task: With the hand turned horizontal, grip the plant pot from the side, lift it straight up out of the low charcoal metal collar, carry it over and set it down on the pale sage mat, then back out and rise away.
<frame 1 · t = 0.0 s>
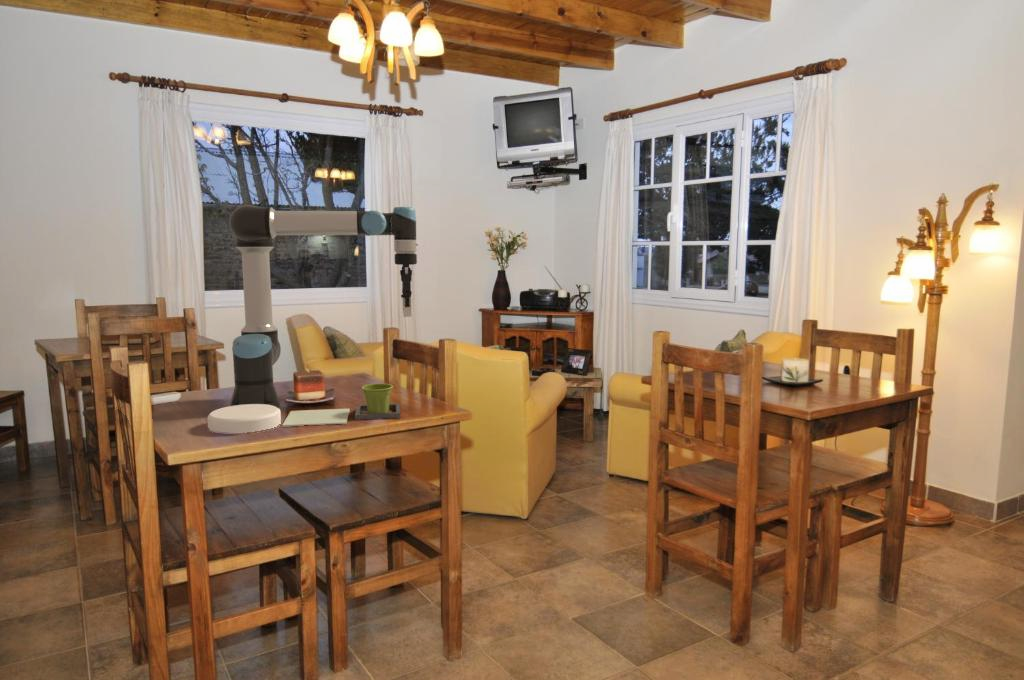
hand: (407, 314, 247), 28 cm above the table, tool pointing down, fingers open, 13 cm apart
sage mat: (317, 418, 217), on the table
plant pot: (378, 414, 222), resting in pot collar
container: (245, 427, 209), on the table
pot collar: (378, 413, 222), on the table
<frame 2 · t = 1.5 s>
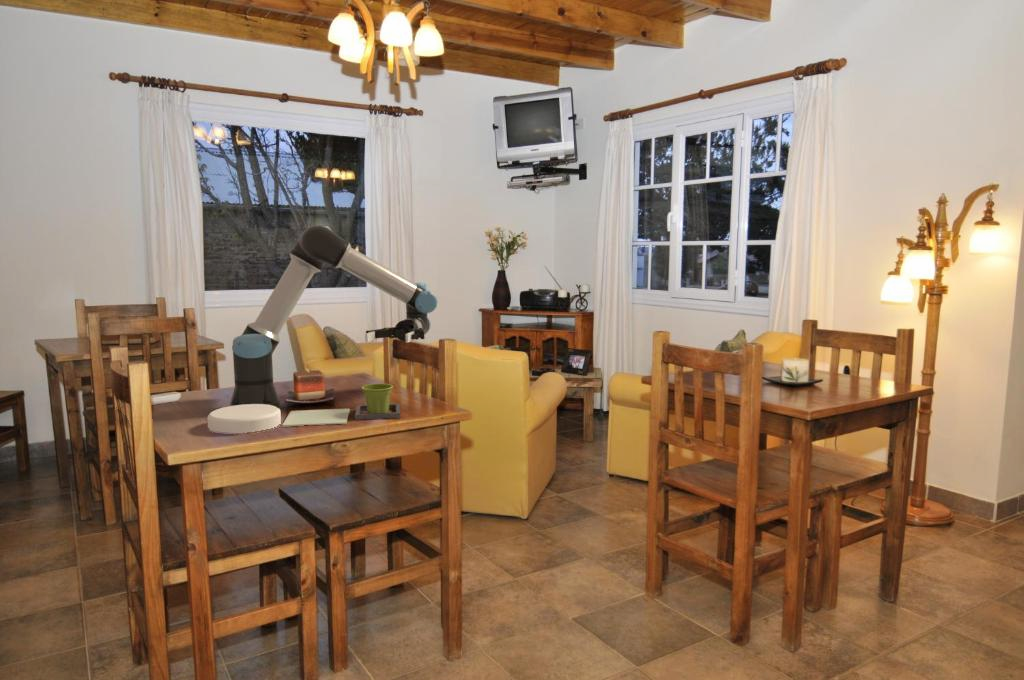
hand: (386, 338, 228), 22 cm above the table, tool horizontal, fingers open, 13 cm apart
nothing on the table moved.
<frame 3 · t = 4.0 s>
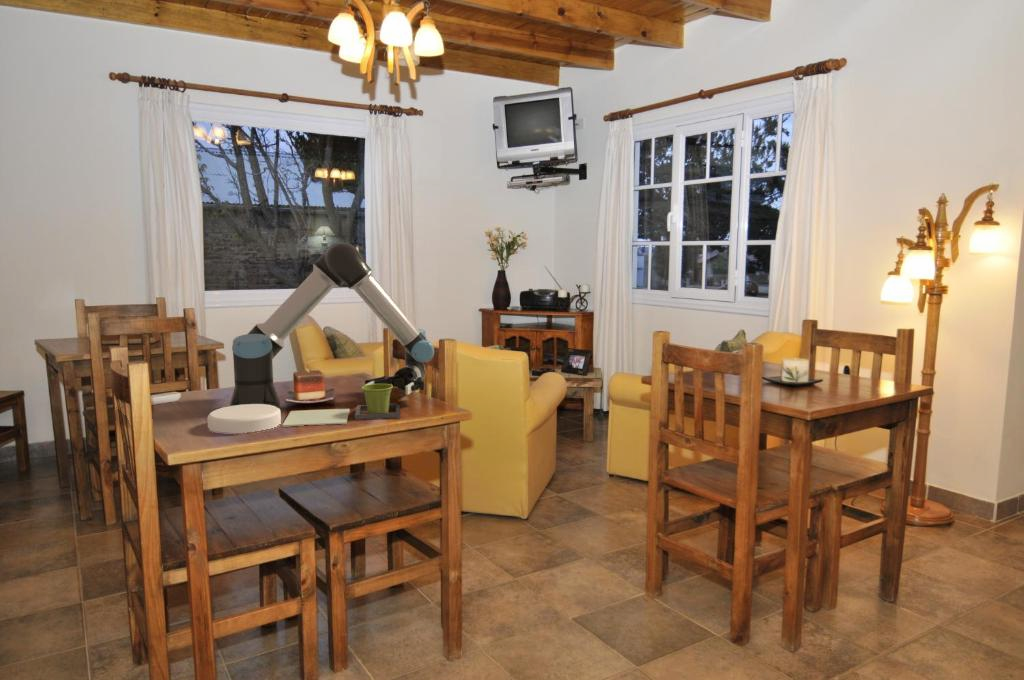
hand: (386, 389, 227), 6 cm above the table, tool horizontal, fingers open, 13 cm apart
nothing on the table moved.
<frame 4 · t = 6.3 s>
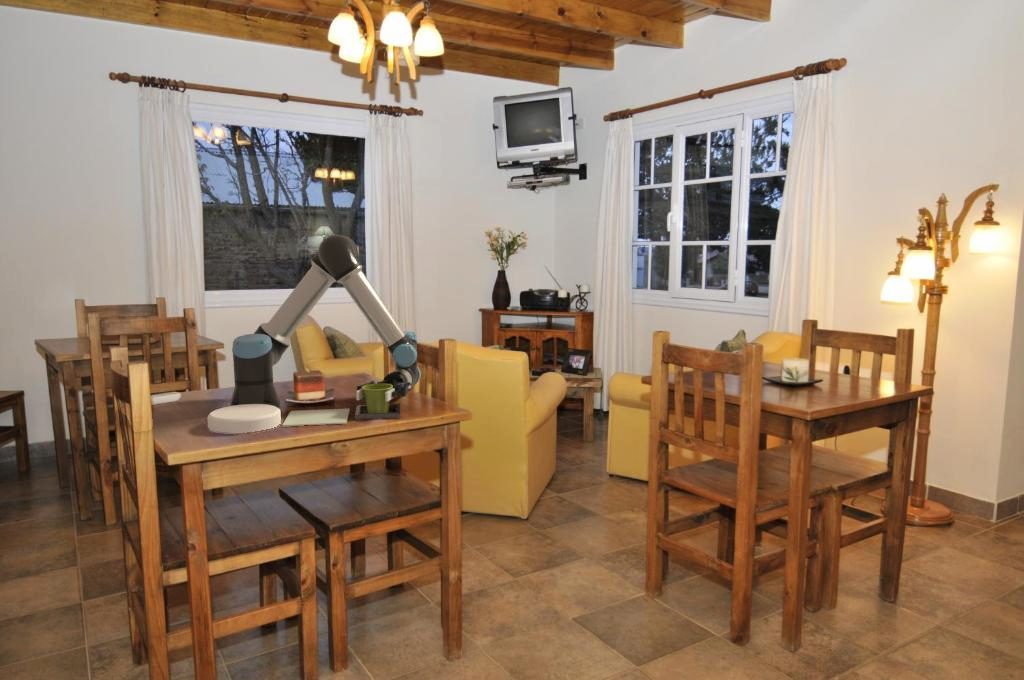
hand: (371, 396, 217), 7 cm above the table, tool horizontal, fingers closed on plant pot, 9 cm apart
plant pot: (378, 414, 222), resting in pot collar, touching gripper
everything else where it was.
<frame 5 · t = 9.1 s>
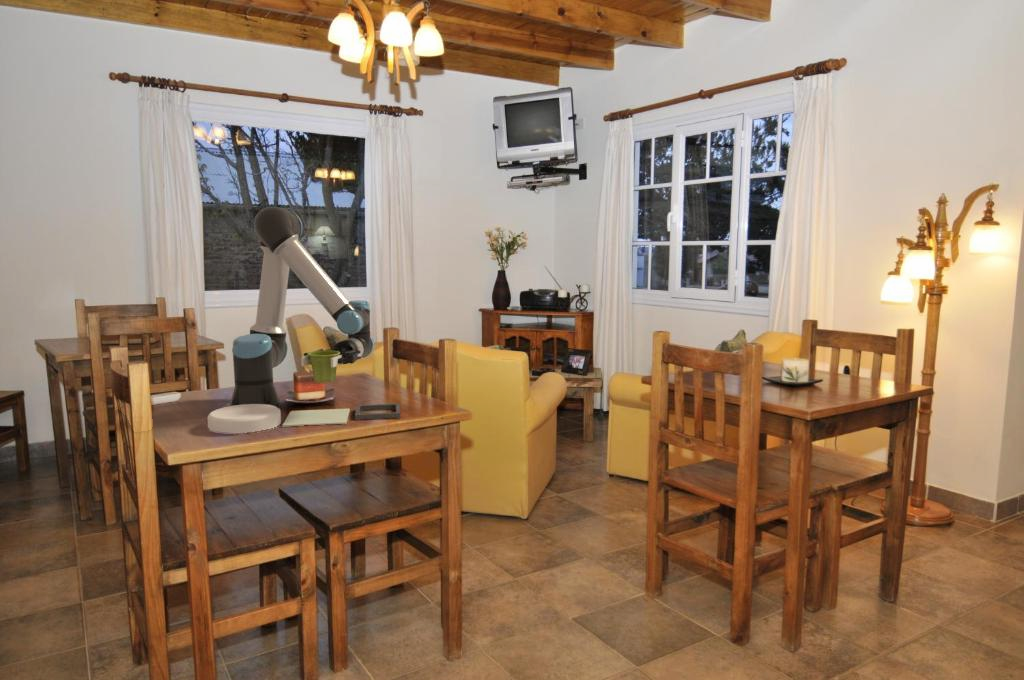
hand: (317, 362, 210), 18 cm above the table, tool horizontal, fingers closed on plant pot, 9 cm apart
plant pot: (324, 381, 216), point 11 cm above the table, touching gripper
everything else where it was.
when the fingers open (8 cm above the table, at t = 12.0 s): plant pot drops 1 cm, point 1 cm above the table.
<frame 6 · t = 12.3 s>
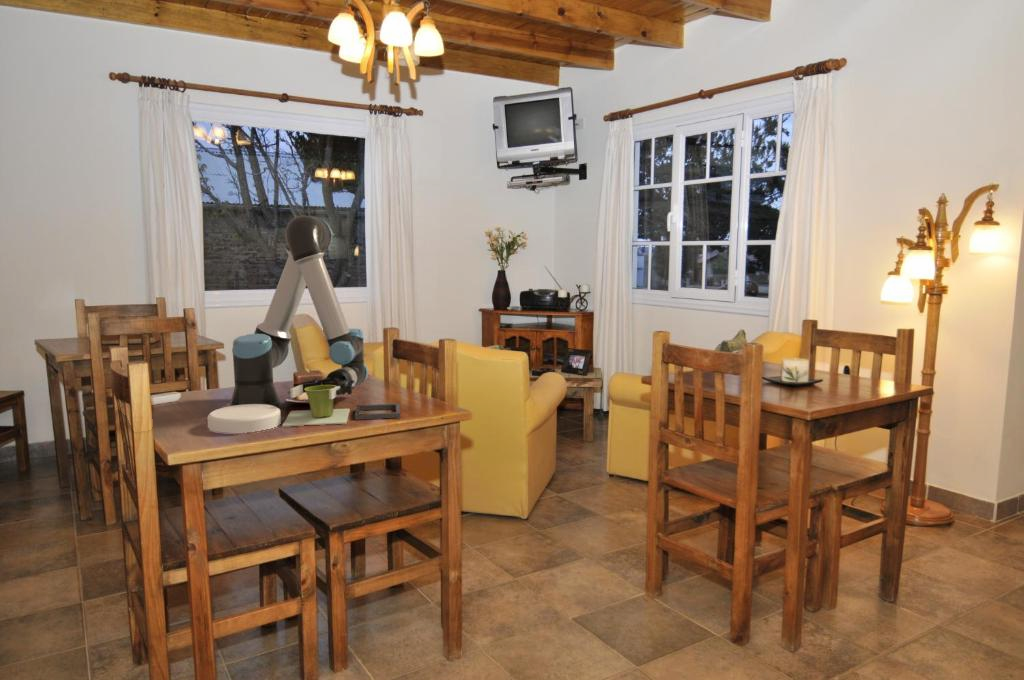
hand: (310, 394, 212), 8 cm above the table, tool horizontal, fingers open, 11 cm apart
plant pot: (322, 416, 217), point 1 cm above the table, touching gripper
everything else where it was.
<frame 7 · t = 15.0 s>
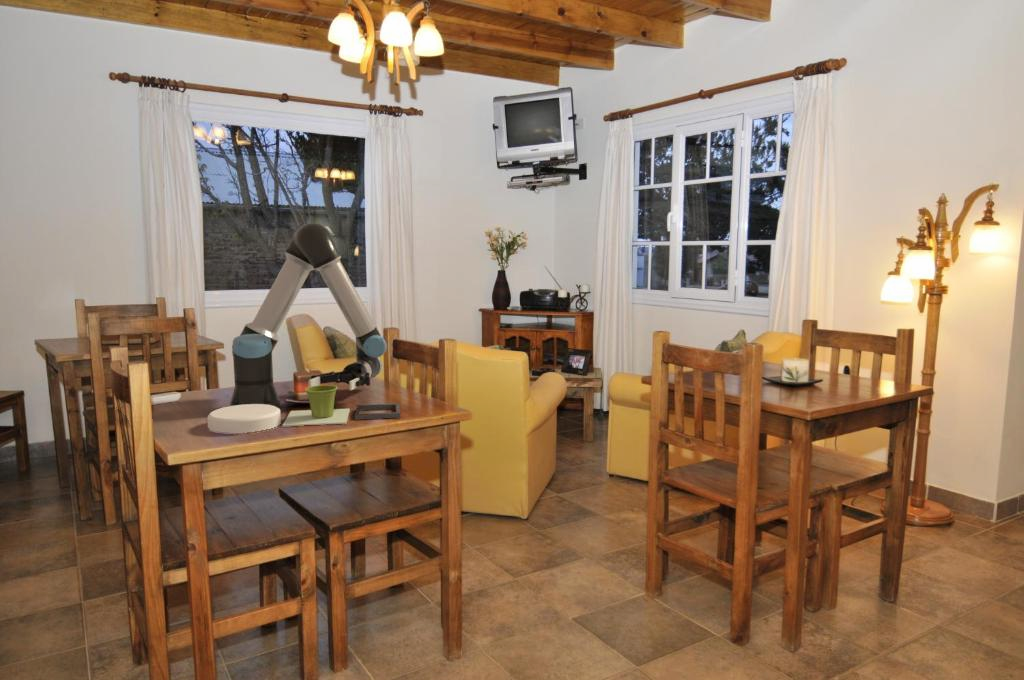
hand: (329, 385, 225), 8 cm above the table, tool horizontal, fingers open, 13 cm apart
plant pot: (322, 416, 217), resting on sage mat
everything else where it was.
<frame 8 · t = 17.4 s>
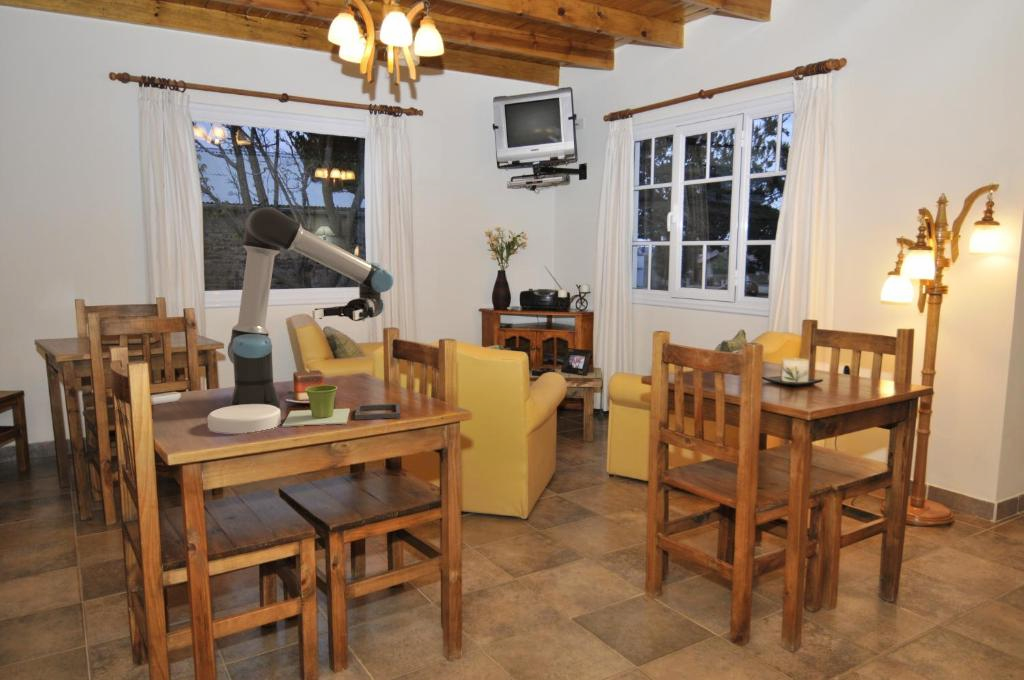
hand: (333, 315, 226), 30 cm above the table, tool horizontal, fingers open, 13 cm apart
nothing on the table moved.
at the end: plant pot inside the target area on the sage mat (1.5 cm from its centre), point 0.4 cm above the sage mat's base; plant pot tilted 0°; the gripper is holding nothing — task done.
